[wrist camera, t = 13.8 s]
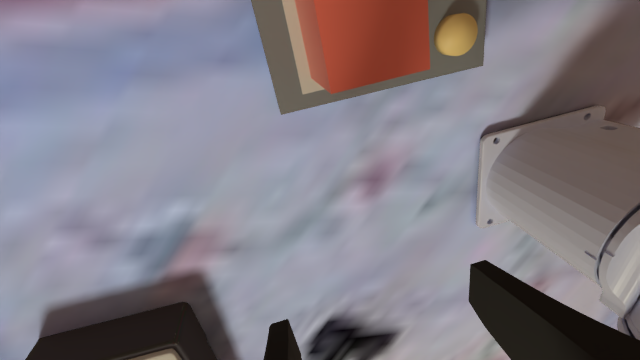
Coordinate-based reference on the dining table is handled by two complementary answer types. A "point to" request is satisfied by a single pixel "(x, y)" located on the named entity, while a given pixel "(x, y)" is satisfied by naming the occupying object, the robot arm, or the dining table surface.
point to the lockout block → (363, 40)
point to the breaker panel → (303, 92)
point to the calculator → (132, 338)
